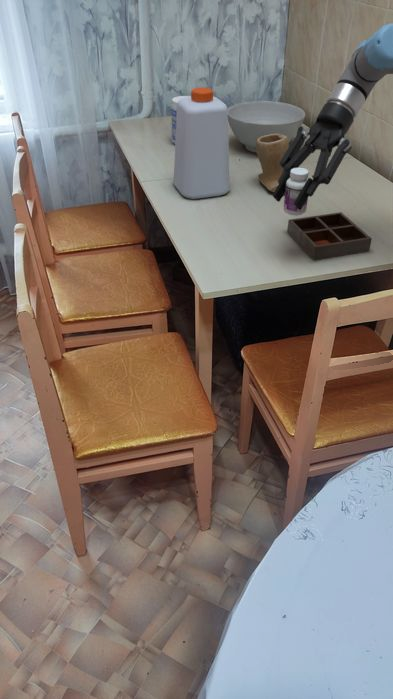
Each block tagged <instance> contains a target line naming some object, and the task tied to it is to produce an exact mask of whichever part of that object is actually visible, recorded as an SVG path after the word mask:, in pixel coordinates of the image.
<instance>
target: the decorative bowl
mask: <svg viewBox="0 0 393 699" xmlns="http://www.w3.org/2000/svg"><path fill="white" fill-rule="evenodd" d="M227 109H228V126H229V127H230V129H231V131H232V134H234V137H236V138H237V140H238V141H239V142H240V143H241V144H242V145H244V146H245V148H246V150H247V151H250V152H252V153H255V154H257V150H256V141H257V139H258V138H260V137H262V136H264V135H269V134H282V135H284V136H286V137H287V138H288V141H289V142H290V141H292V139H294V138H295V137H296V135H297V131H298V128H299V127H300V126H303V123H304V121H305V118H306V112H305V110H303V108H301V107H299V106H296V105H294V104H290V103H286V102H282V101H273V100H251V101H243V102H239V103H235V104H232V105H231V106H229V107H227Z"/></svg>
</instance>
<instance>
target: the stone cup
mask: <svg viewBox="0 0 393 699" xmlns="http://www.w3.org/2000/svg"><path fill="white" fill-rule="evenodd" d="M289 146H290V141H288V138H287V137H286V136H284V135H282V134H269V135H264V136H262V137H260V138H258V139H257V141H256V150H257V153H256V155H257V159H258V162H259V163H260V166H261V167H260V168H261V171H262V172H261V173H259V174H258V180H259V182H260V183H261V184H262V185H263V186H264V187H265V188H266V189H267V190H269V191H270V192H271V193H274V192H275V190H276V188H277V187H278V185H279V184H278V180H279V178H280V176H281V175H282V173H283V171H284V169H283V168H282V166H281V165H280V161H281V159H282V158H283V156H284V155H285V153H286V151H287V150H288V148H289ZM284 195H285V193H284Z"/></svg>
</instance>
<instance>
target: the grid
mask: <svg viewBox="0 0 393 699" xmlns="http://www.w3.org/2000/svg"><path fill="white" fill-rule="evenodd" d="M286 232H287V235H289V236H290V237H291V238H292V239H293V240H294V241H295V243H297V244H298V245H299V246H300V248H301V249H302V250H303V251H304V252H305V253H306V254H307V256H309V258H311V259H312V260H313V261H319V260H323V259H330V258H331V259H332V258H337V257H343V256H349V255H355V254H359V253H361V254H362V253H366V252H370V248H371V243H372V237H371V236H370V235H369V234H367V233H366V232H365V231H364V230H363V229H361V227H360V226H358V225H357V224H356V223H354V222H353V221H352V220H351V219H350V218H349V217H348V216H347V215H345V214H344V213H343V212H341V211H339V212H333V213H325V214H318V215H312V216H304V217H297V218H291V219H288V222H287V231H286Z"/></svg>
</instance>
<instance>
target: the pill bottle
mask: <svg viewBox="0 0 393 699" xmlns="http://www.w3.org/2000/svg"><path fill="white" fill-rule="evenodd" d="M309 172H310V171H309V169H307V168H304V167H298V168H293V169H291V172H290V178H289V179H288V180H287V182H286V190H285V194H284V199H283V211H284V213H285V214H287V215H289V216H296V217H297V216H302V215H304V214H306V213H307V208H308V203H309V202H308V201H309V197H308V198H307V200H306V202H305V203H304V205H303V207H302V209H301V210H299V209H297V207H296V206H295V205H294V202H295V201H296V199H297V197H298V195H299V194H300V192H301V190H302V189H303V187H304V185H305V183H306V182H307V180H308V178H309Z"/></svg>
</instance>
